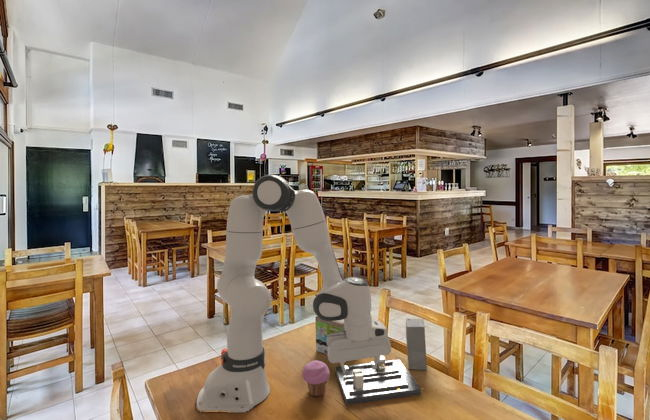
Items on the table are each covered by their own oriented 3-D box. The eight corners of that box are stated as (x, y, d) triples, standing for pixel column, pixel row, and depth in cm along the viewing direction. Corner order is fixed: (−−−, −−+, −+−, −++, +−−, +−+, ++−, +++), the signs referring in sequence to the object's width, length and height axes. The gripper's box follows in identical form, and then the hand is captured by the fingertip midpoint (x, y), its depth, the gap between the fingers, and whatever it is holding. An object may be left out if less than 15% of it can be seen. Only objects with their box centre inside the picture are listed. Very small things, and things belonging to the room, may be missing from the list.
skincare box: (427, 371, 120) (427, 327, 118) (406, 369, 121) (406, 326, 120) (425, 358, 128) (425, 318, 127) (405, 357, 130) (405, 317, 128)
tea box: (315, 352, 135) (314, 316, 134) (329, 341, 144) (328, 307, 142) (347, 362, 127) (347, 324, 126) (360, 351, 135) (360, 315, 134)
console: (346, 404, 103) (346, 383, 103) (335, 372, 121) (334, 353, 120) (421, 394, 107) (421, 374, 106) (399, 364, 125) (399, 346, 124)
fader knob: (356, 390, 106) (355, 375, 106) (352, 382, 110) (352, 368, 110) (363, 389, 107) (363, 374, 106) (360, 381, 111) (360, 368, 110)
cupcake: (332, 398, 106) (332, 368, 105) (305, 403, 105) (304, 372, 104) (327, 382, 115) (326, 353, 114) (301, 386, 113) (300, 357, 112)
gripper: (327, 338, 102) (330, 381, 104) (392, 329, 106) (393, 371, 107) (324, 328, 109) (326, 369, 110) (385, 320, 112) (386, 360, 114)
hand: (360, 370), depth 109 cm, fingers open, 8 cm apart
